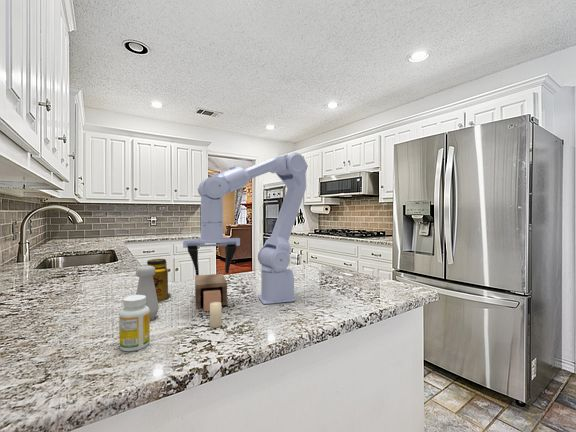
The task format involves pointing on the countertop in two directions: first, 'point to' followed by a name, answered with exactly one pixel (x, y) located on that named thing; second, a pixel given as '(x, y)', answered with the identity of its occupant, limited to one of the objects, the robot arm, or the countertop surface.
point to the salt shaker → (148, 288)
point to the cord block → (213, 306)
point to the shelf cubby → (210, 286)
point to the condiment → (160, 279)
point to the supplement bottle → (134, 323)
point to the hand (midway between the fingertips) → (212, 273)
